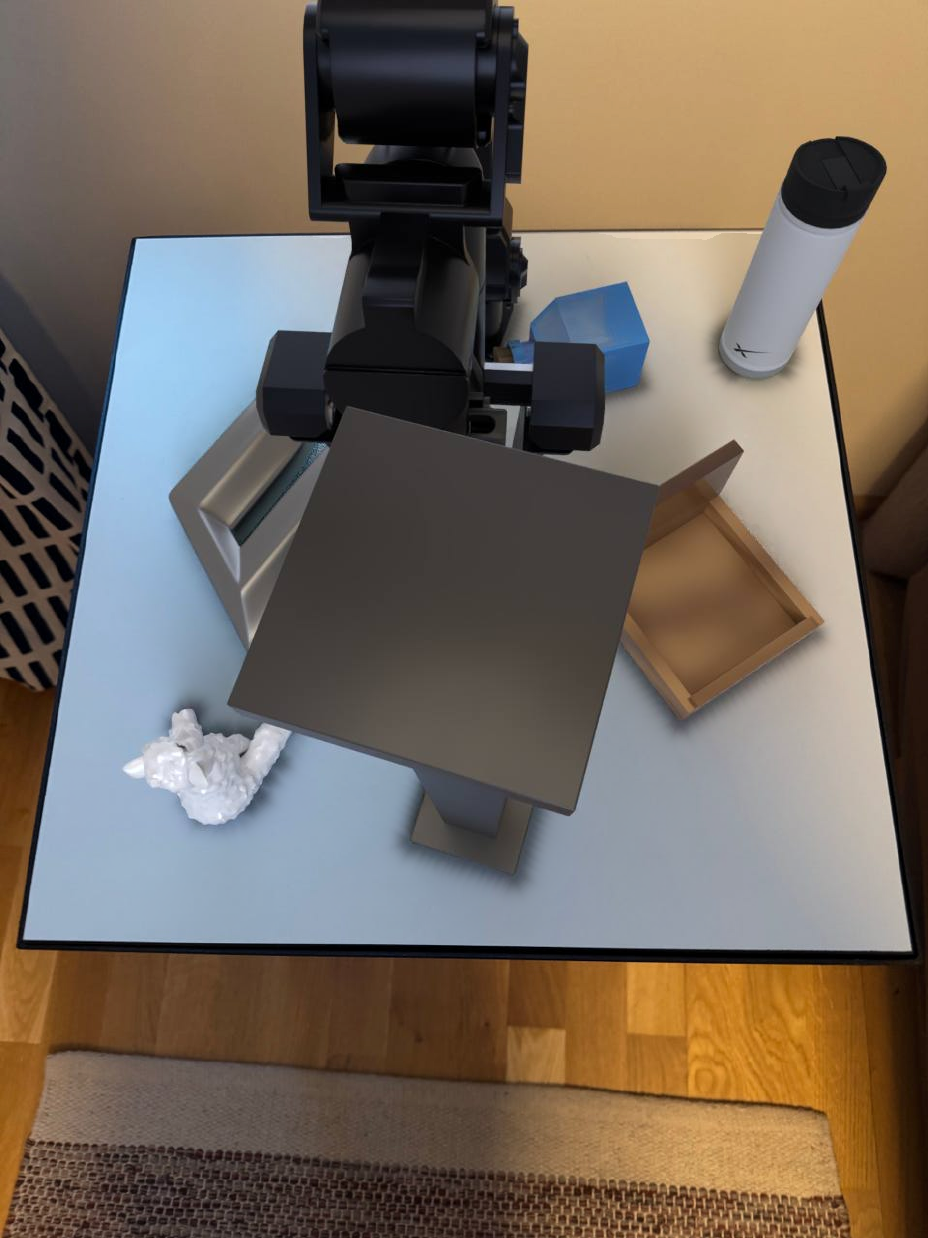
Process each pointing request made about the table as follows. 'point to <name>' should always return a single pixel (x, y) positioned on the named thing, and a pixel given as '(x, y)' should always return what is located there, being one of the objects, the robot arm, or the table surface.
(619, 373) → the perfume bottle
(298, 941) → the table surface
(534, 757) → the plant stand
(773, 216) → the travel mug
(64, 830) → the table surface
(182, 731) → the white creature statuette
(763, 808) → the table surface
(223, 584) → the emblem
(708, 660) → the oak drawer
